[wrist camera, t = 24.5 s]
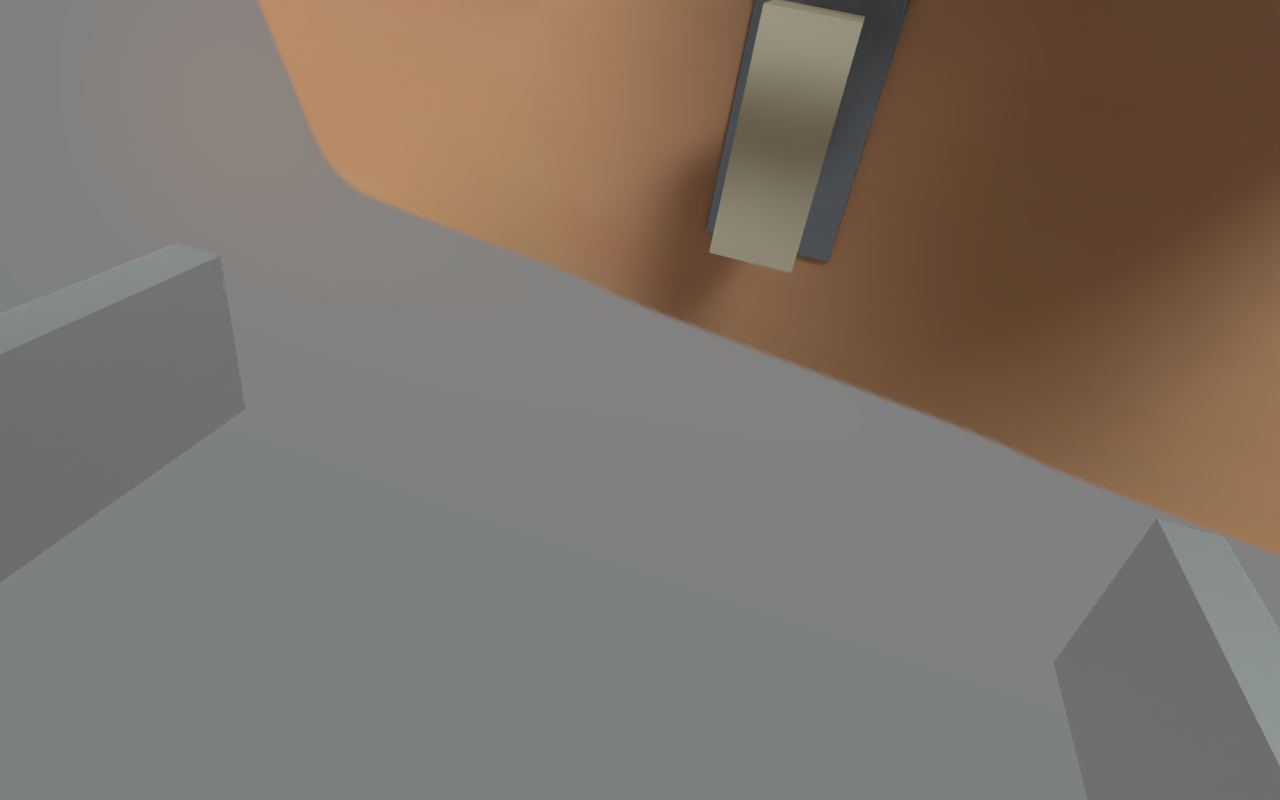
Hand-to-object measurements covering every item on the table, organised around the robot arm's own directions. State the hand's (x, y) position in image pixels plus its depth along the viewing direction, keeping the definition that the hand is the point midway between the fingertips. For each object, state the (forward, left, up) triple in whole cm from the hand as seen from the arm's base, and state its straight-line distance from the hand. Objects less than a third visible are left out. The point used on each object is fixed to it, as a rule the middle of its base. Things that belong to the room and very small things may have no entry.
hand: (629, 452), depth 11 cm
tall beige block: (0, -2, -27) cm, 27 cm away
